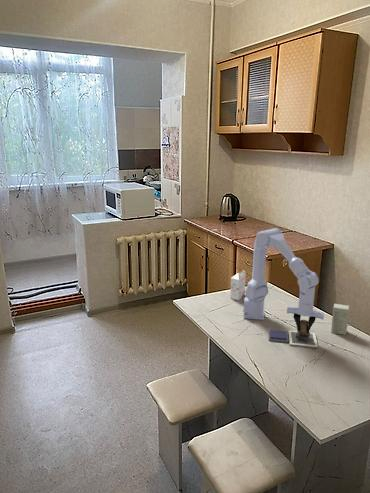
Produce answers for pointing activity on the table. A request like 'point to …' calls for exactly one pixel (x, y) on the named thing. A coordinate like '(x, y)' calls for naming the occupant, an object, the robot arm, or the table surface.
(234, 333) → the table surface
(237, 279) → the ink cartridge box
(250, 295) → the robot arm
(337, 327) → the skincare box
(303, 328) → the stamp
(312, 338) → the marked square
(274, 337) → the ink pad
